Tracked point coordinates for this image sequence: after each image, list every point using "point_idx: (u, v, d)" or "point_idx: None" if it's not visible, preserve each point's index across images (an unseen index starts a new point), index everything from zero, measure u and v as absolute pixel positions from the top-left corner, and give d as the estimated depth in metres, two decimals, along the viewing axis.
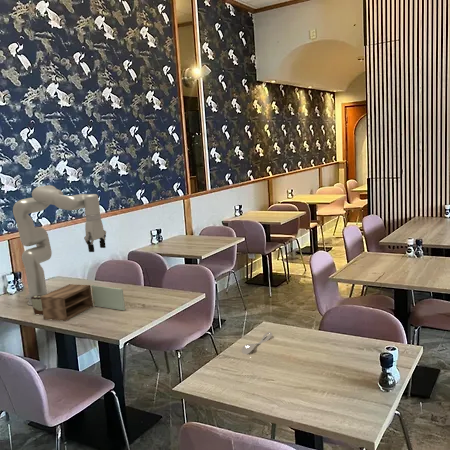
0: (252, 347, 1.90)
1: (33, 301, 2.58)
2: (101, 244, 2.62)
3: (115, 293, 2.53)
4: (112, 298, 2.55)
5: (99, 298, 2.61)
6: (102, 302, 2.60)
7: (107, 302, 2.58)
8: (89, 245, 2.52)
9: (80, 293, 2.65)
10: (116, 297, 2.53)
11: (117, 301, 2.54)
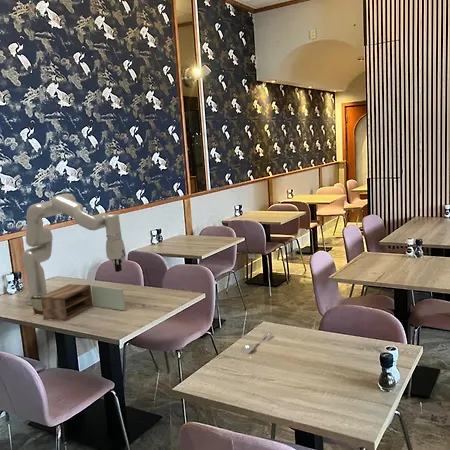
0: (252, 347, 1.90)
1: (33, 301, 2.58)
2: None
3: (115, 293, 2.53)
4: (112, 298, 2.55)
5: (99, 298, 2.61)
6: (102, 302, 2.60)
7: (107, 302, 2.58)
8: (119, 264, 2.58)
9: (80, 293, 2.65)
10: (116, 297, 2.53)
11: (117, 301, 2.54)
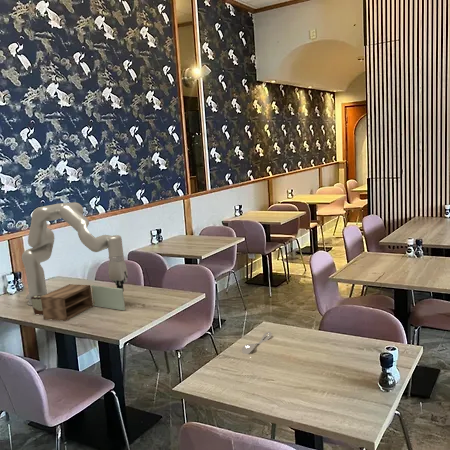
0: (252, 347, 1.90)
1: (33, 301, 2.58)
2: None
3: (115, 293, 2.53)
4: (112, 298, 2.55)
5: (99, 298, 2.61)
6: (102, 302, 2.60)
7: (107, 302, 2.58)
8: (121, 285, 2.60)
9: (80, 293, 2.65)
10: (116, 297, 2.53)
11: (117, 301, 2.54)
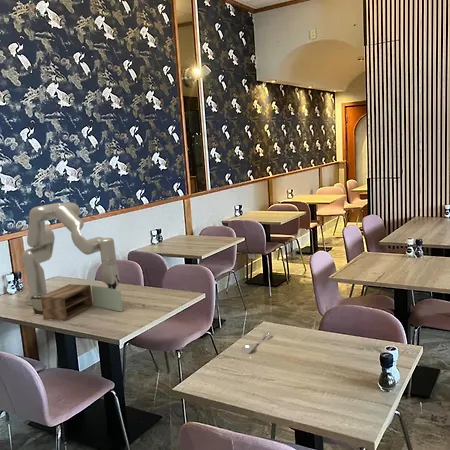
0: (252, 347, 1.90)
1: (33, 301, 2.58)
2: None
3: (113, 294, 2.52)
4: (110, 298, 2.54)
5: (98, 298, 2.60)
6: (101, 302, 2.59)
7: (106, 303, 2.57)
8: None
9: (80, 293, 2.65)
10: (114, 298, 2.52)
11: (115, 302, 2.52)
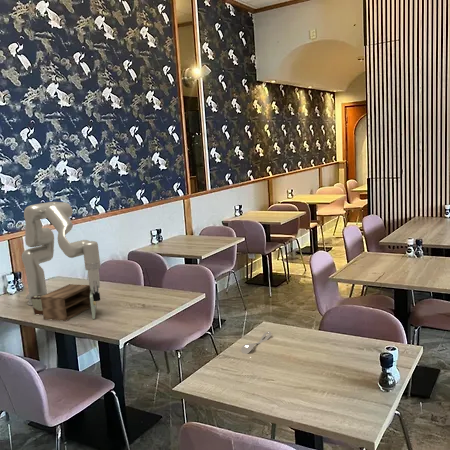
0: (251, 347, 1.90)
1: (33, 301, 2.58)
2: None
3: None
4: None
5: None
6: None
7: None
8: (96, 294, 2.48)
9: (80, 293, 2.65)
10: None
11: None
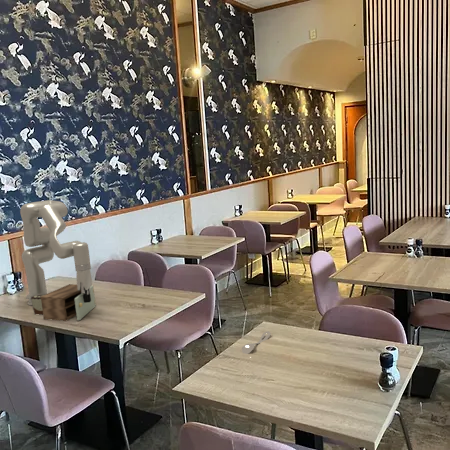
0: (252, 347, 1.90)
1: (33, 301, 2.58)
2: None
3: None
4: None
5: None
6: None
7: None
8: (85, 296, 2.47)
9: (80, 293, 2.65)
10: None
11: None
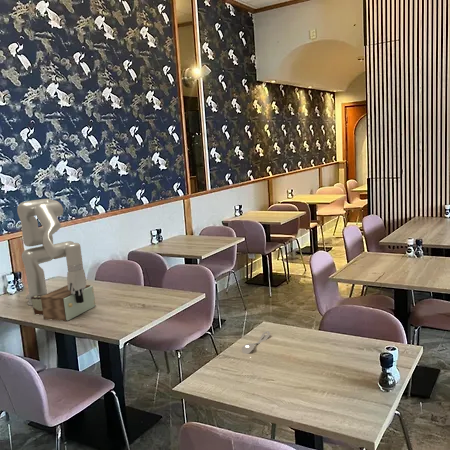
0: (252, 347, 1.90)
1: (33, 301, 2.58)
2: None
3: None
4: None
5: None
6: None
7: None
8: (77, 296, 2.47)
9: None
10: None
11: None
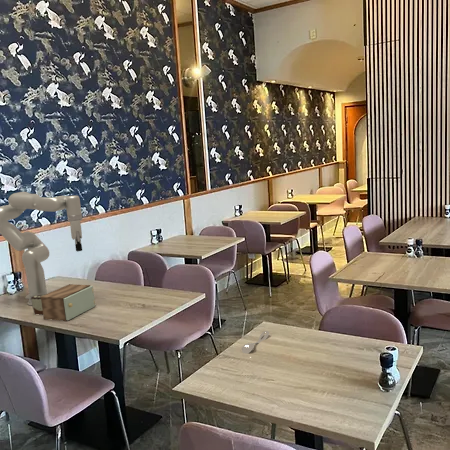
0: (252, 346, 1.91)
1: (33, 301, 2.58)
2: None
3: None
4: None
5: None
6: None
7: None
8: (78, 244, 2.68)
9: None
10: None
11: None
